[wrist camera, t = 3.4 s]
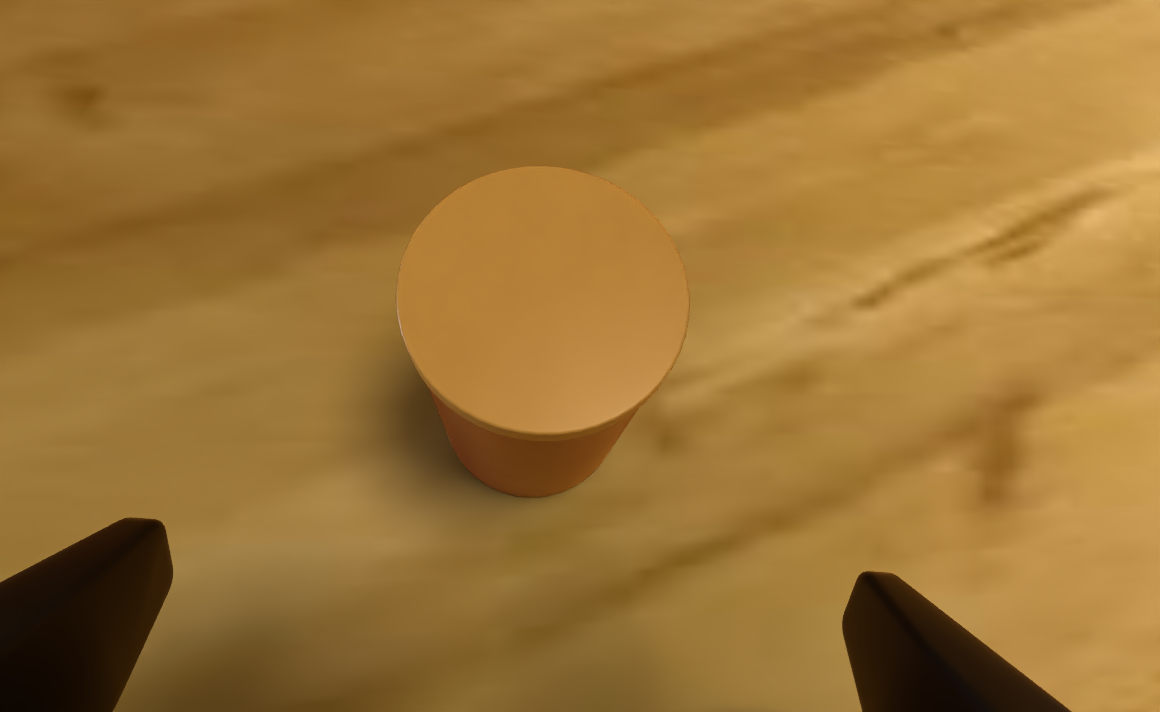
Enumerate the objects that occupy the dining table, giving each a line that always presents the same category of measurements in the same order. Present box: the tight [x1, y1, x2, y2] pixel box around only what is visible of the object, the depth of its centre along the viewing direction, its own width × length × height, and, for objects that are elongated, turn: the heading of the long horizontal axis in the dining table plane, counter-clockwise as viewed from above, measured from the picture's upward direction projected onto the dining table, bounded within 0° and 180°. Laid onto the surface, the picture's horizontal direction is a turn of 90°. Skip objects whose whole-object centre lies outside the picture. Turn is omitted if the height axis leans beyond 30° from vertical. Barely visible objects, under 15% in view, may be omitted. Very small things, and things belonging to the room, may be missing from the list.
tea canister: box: [396, 166, 690, 497], centre depth 17 cm, size 6×6×9 cm
